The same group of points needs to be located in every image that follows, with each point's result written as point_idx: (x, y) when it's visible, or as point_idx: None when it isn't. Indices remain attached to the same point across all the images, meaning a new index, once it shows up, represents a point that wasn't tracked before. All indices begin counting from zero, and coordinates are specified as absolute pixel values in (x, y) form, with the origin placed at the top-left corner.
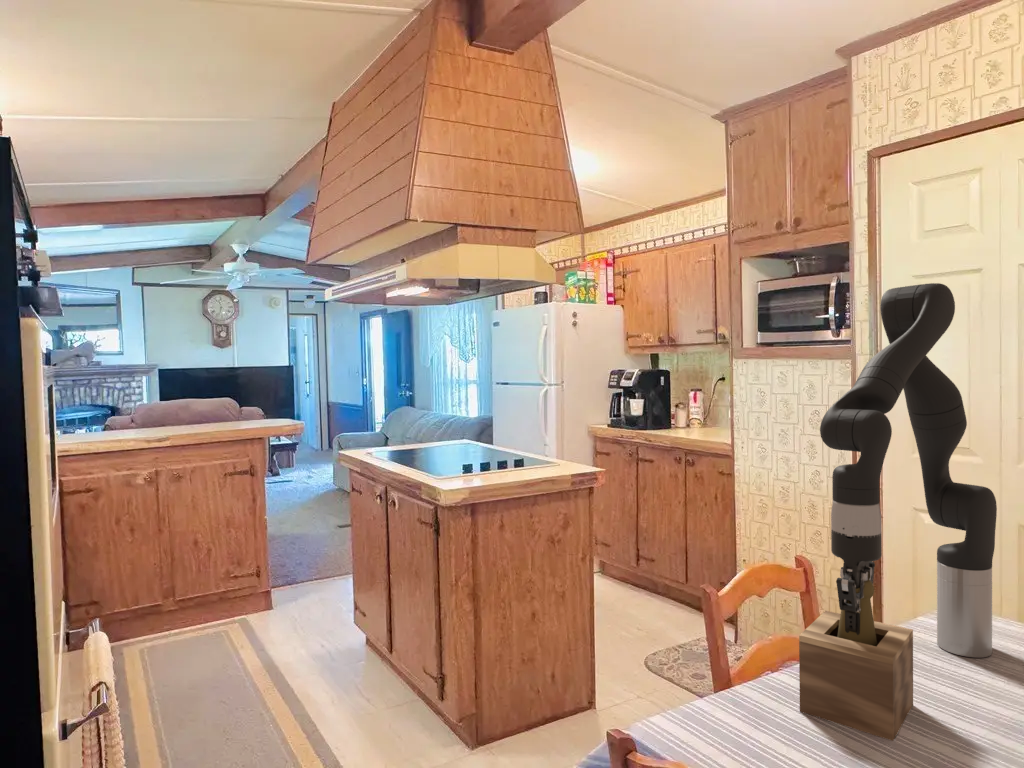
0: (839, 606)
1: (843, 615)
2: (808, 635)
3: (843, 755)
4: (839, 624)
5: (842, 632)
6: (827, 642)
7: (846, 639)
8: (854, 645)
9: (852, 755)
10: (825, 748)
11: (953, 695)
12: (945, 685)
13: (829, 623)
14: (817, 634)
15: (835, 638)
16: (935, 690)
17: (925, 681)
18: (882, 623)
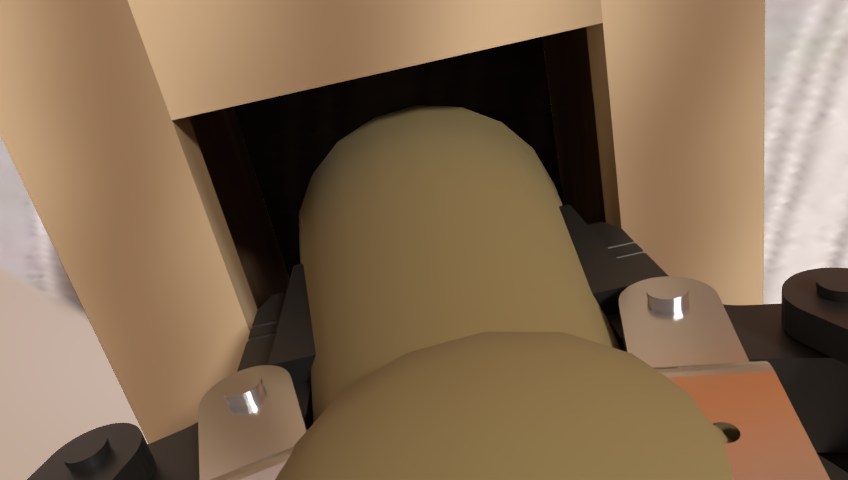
0: (64, 452)
1: (321, 286)
2: (12, 47)
3: (37, 264)
4: (362, 180)
5: (312, 221)
6: (47, 230)
7: (235, 289)
8: (181, 375)
9: (67, 282)
10: (13, 204)
11: (770, 297)
12: (840, 249)
13: (443, 22)
14: (110, 90)
15: (172, 232)
16: (773, 244)
17: (833, 190)
18: (752, 295)
